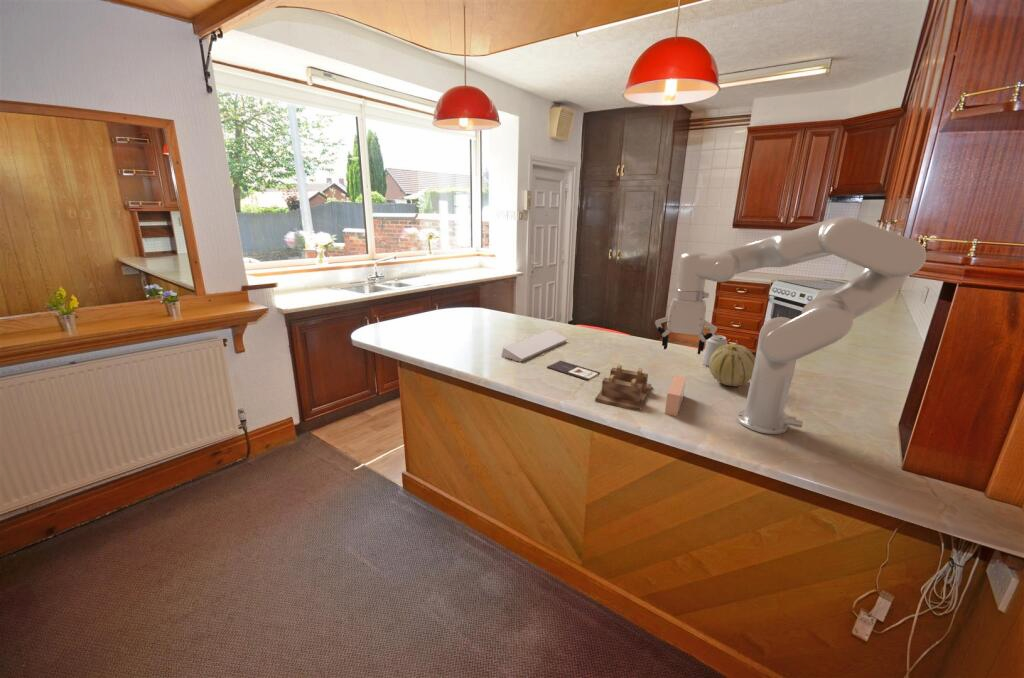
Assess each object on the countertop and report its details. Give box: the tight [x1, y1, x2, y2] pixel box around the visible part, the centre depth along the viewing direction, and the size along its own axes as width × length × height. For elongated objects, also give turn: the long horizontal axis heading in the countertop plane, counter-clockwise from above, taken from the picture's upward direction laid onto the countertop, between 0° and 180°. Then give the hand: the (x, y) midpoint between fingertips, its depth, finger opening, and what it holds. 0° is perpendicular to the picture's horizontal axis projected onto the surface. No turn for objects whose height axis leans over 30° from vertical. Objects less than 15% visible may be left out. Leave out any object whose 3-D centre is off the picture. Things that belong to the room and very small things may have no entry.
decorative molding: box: [501, 329, 568, 363], centre depth 181 cm, size 34×5×10 cm
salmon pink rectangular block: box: [664, 374, 687, 417], centre depth 131 cm, size 4×16×7 cm, turn 152°
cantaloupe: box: [708, 343, 756, 387], centre depth 145 cm, size 15×15×15 cm
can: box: [702, 334, 728, 368], centre depth 162 cm, size 8×8×12 cm
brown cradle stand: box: [594, 364, 652, 412], centre depth 138 cm, size 14×20×8 cm
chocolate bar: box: [546, 360, 601, 381], centre depth 158 cm, size 9×1×18 cm
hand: (681, 350), depth 126 cm, fingers open, 9 cm apart
